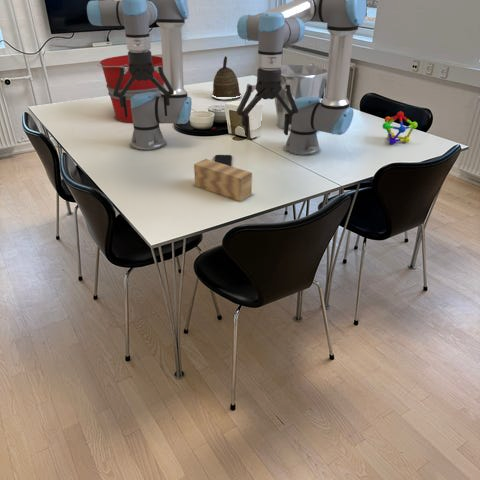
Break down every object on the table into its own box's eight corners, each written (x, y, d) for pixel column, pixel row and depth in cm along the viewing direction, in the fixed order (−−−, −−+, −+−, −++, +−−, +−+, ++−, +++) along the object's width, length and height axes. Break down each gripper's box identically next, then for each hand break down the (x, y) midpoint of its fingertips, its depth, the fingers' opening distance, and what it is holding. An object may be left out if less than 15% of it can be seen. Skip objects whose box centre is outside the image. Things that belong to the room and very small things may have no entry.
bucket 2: (296, 138, 215) (301, 78, 201) (255, 124, 234) (256, 68, 219) (335, 125, 232) (342, 70, 217) (294, 113, 251) (297, 61, 236)
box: (195, 185, 169) (193, 164, 164) (206, 179, 174) (205, 158, 169) (240, 201, 158) (240, 178, 153) (251, 194, 163) (252, 172, 158)
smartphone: (212, 168, 182) (215, 154, 194) (213, 169, 182) (215, 156, 195) (230, 168, 182) (231, 154, 194) (230, 170, 182) (231, 156, 195)
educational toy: (377, 146, 209) (379, 114, 202) (384, 138, 219) (386, 107, 211) (411, 149, 202) (415, 116, 195) (417, 141, 212) (420, 109, 204)
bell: (227, 105, 294) (202, 96, 282) (238, 66, 289) (213, 55, 277) (243, 108, 280) (217, 98, 268) (255, 66, 275) (229, 55, 263)
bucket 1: (115, 106, 261) (107, 52, 245) (174, 107, 260) (170, 52, 244) (97, 124, 232) (87, 64, 216) (164, 125, 231) (159, 65, 215)
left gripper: (98, 53, 139) (108, 120, 150) (178, 51, 142) (182, 117, 153) (101, 49, 145) (111, 113, 156) (177, 47, 148) (182, 111, 159)
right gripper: (231, 71, 133) (231, 139, 144) (311, 69, 137) (305, 136, 148) (228, 66, 139) (227, 132, 150) (304, 65, 143) (298, 130, 154)
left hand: (146, 115), depth 155 cm, fingers open, 13 cm apart
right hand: (266, 134), depth 149 cm, fingers open, 13 cm apart
